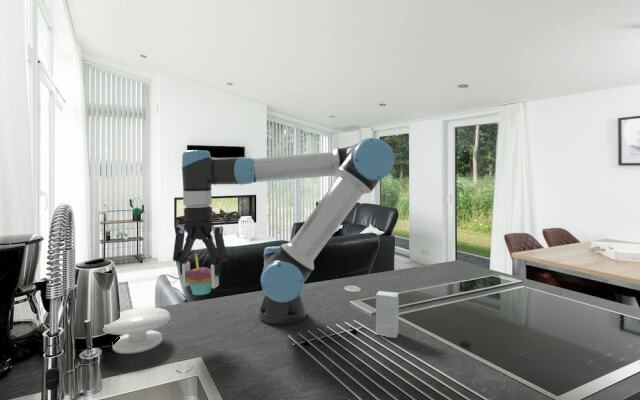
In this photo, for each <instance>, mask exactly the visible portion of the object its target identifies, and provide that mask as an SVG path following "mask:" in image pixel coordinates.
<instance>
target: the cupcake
mask: <svg viewBox="0 0 640 400" xmlns="http://www.w3.org/2000/svg"><path fill="white" fill-rule="evenodd" d="M194 259H195V266H196V267H195V268H192V269H190V271H189V272H187V274H186V276H185V282H186V283H188V284H189V285H188V287H190V290H191V292H192V295H194V296H203V295H208V294H210V293H211V291H212V282H211V267H210V268H209V267H206V266H202V267H200V266H199V265H200V264H199V257H198V254H197V252H196V251H195V253H194Z"/></svg>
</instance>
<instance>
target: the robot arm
mask: <svg viewBox="0 0 640 400" xmlns="http://www.w3.org/2000/svg"><path fill="white" fill-rule="evenodd" d="M181 157H182V159H181V160H182V161H181V163H182V166H181V172H182V189H183V191H182V193H183V194H182V197H183V198H182V199H183V206H185V207H184V208H183V215H184V216H183V218H184V224H183V225H179V226H175V227H174V232H175V239H174V247H173V253H172V254H173V255H172V260H173V261H174V262H177V263H178V264H179V274H180V275H182V288H183V287H184V288H186V287H189V284H188V283H186V282H185V276H186V274H187V272H189V271H191V262H190V261H189V256H190V254H191V252H192V248H193V245H194V244H195V241H196V240H199V241H202V243H203V244H204V245H205V247H206V250H207V252H208V253H209V256H210V259H211V261H212V264H211V265H210V269H211V282H212V286H211V289H216V288H217V287H219V286H220V280H219V279H220V276H221V274H222V263H224V262H226V261H228V256H227V250H226V244H225V240H224V235H223V232H224V227H223V225H220V226H216V225H214V224H213V207H212V206H211V205H212V204H213V201H212V200H213V199H212V186H213V185H242V186H243V185H247V184H248V185H249V184H253V183H261V182H262V183H263V182H274V181H285V180H297V179H310V178H320V177H333V176H334V177H335V178H337V179H336V180H335V182H334V183H333V184H332V185H331V186H330V188H329V189H328V191H327V192H326V193H325V195H324V196H323V198H322V199H321V200H320V202H319V203H318V204H317V205H316V206H315V208H314V209H313V211H312V212H311V214H310V215H309V216H308V217H307V219H306V220H305V221H304V223H303V224H302V226H301V227H300V228H299V229H298V231H297V232H296V234H295V235H294V236H293V238H292V239H291V240H290V242H287V243H283V244H280V245H278V246H276V245H275V246H274V245H273V246H267V247H265V248H264V249H263V251H264V252H263V260H264V261H263V264H264V265H263V269H262V271H261V275H260V284H261V288H262V291H263V293H264V294H263V298H262V300H261V303H260V306H259V310H258V318H259V319H260V321H262V322H264V323H266V324H271V325H290V324H295V323H298V322H301V321H303V320H304V319H305V318H306V316H307V315H306V313H307V312H306V306H305V302H304V299H303V297H302V293H301V292H302V290H303V289H304V285H305V282H306V280H307V279H308V277H309V276H310V275H311V273H313V271H314V270H315V263H314V261H315V259H316V258H317V257H318V255H319V254H320V252H321V251H322V250H323V249H324V247H325V246H326V244H327V243H328V242H329V240H330V239H331V238H332V236H333V235H334V234H335V232H336V231H337V230H338V228H340V225H341V224H342V223H343V222H344V221H345V219H346V217H348V215H349V213H350V212H351V211H352V210H353V208H354V207H355V205H356V204H358V201H359V200H360V199H361V197H362V196H363V195H364V194H371V193H372V192H373V190H374V189H375V187H376V186H377V185H378V184H379V183H380V181H381V180H384V179H385V178H386V177H387V176H388V175H390V173H391V172H392V170H393V168H394V164H395V155H394V152H393V149H392V147H391V146H390V145H389V144H388V143H387V142H386V141H385V140H383V139H380V138H375V137H368V138H364V139H362V140H361V141H360V142H358V143H356V144H354V145H351V146H347V147H346V146H345V147H341V148H335V149H334V150H333V151H331V152H317V153H307V154H304V153H303V154H297V155H296V154H295V155H293V154H292V155H283V156H282V155H281V156H271V157H256V158H252V157H246V156H245V157H244V156H239V157H233V156H231V157H213V156H212V155H211V152H210V151H209V150H203V149H202V150H197V149H195V150H193V149H192V150H185V151H183V153H182V156H181ZM185 232H186V234H187V235H186V238H185ZM211 233H213V234H214V237H213V235H212V234H211ZM184 241H185V243H184ZM214 242H215V243H214Z"/></svg>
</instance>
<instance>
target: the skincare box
mask: <svg viewBox="0 0 640 400" xmlns="http://www.w3.org/2000/svg"><path fill="white" fill-rule="evenodd" d="M399 303H400V302H399V292H393V291H392V292H391V291H384V290H383V291H382V290H378V292H377V293H376V294H375V336H376V335H381V336H380V337H383V336H385V337H384V338H391V339H392V338H393V339H397V338H398V335H399V325H400V324H399V321H400V320H399V317H400V316H399V310H400V309H399V308H400V307H399Z"/></svg>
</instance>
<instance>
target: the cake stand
mask: <svg viewBox="0 0 640 400" xmlns="http://www.w3.org/2000/svg"><path fill="white" fill-rule="evenodd" d="M170 319H171V314H170V312H169V311H168V310H167V309H165V308H162V307H154V306H153V307H138V308H131V309H126V310H123V311H120V318H119V319H118V320H116V321H114V322H112V323H110V324H107V325H104V328H103V330H102V331H103V332H104V333H107V334H110V335H118V336H119V337H120V339H119V340H118V341H117V342H116V343H115V344H114V345H113V344H112V350H113V352H114V353H117V354H121V355H122V354H124V355H131V354H138V353H143V352H146V351H149V350H152V349H154V348H157V346H159V345H160V344H161V343H162V341H163V335H162V333H161V332H160V331H157V330H155V329H159V328H160V327H162V326H165V325H166V324H168V322H169V321H170Z"/></svg>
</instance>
